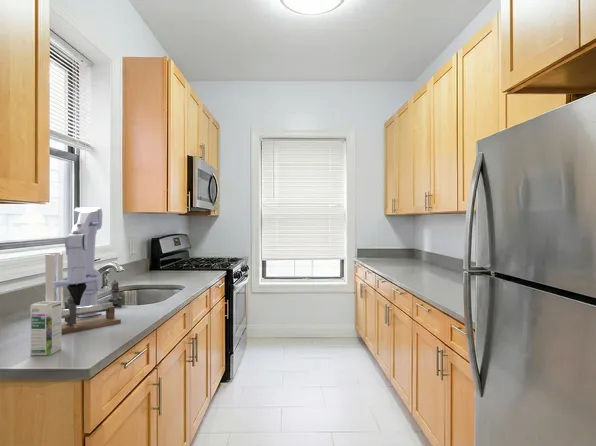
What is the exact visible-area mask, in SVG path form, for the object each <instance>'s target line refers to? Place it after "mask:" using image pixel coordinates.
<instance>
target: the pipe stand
mask: <svg viewBox="0 0 596 446" xmlns="http://www.w3.org/2000/svg"><path fill="white" fill-rule="evenodd" d="M115 308H116V307H114V306H113V303H112V302H110V303H109V302H104V303H97V305H90V306H84V307H77V308H76V317H78V316H80V315H86V314H92V313H98V312H100V313H102V312H103V313H104V312H105V314H104V315H102V314H101V315H96V316H90V317H84V318H79V319H76V324H73V325H70V324H68V323H67V322H65V321H64V322H63V321H61V335H65V334H70V333H75V332H81V331H85V330H91V329H97V328H101V327H107V326H111V325H117V324H121V323H122V319H120V318H118V317H115V315H116V313H115V310H116V309H115ZM68 317H70V308H69V309H65V308H63V309H61V320H62V319H65V318H68Z"/></svg>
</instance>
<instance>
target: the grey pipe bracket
mask: <svg viewBox="0 0 596 446" xmlns="http://www.w3.org/2000/svg"><path fill="white" fill-rule="evenodd" d="M63 306H64V309H69V308H70V317H68V318H64V322H67V323H68V324H70V325H73V324H76V320H77V316H76V304H74V299H73V298H72V297H69V298H67V301H63Z"/></svg>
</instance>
